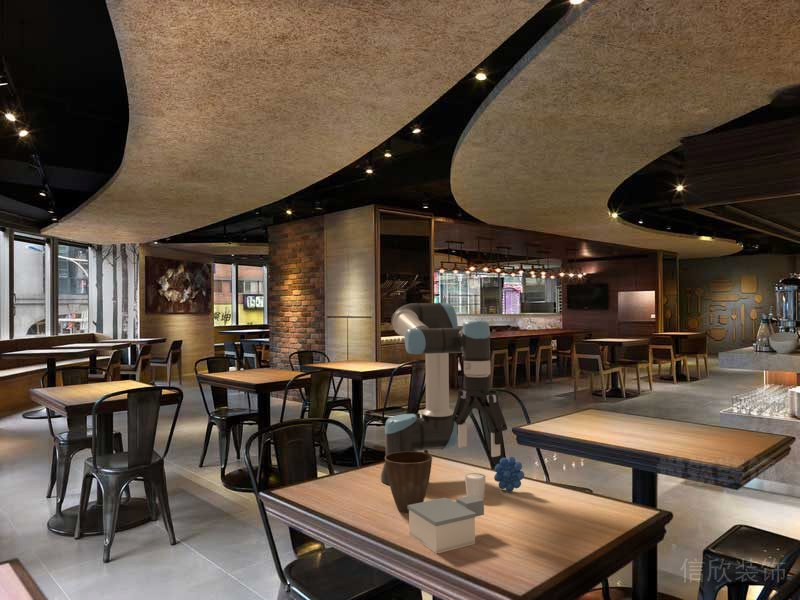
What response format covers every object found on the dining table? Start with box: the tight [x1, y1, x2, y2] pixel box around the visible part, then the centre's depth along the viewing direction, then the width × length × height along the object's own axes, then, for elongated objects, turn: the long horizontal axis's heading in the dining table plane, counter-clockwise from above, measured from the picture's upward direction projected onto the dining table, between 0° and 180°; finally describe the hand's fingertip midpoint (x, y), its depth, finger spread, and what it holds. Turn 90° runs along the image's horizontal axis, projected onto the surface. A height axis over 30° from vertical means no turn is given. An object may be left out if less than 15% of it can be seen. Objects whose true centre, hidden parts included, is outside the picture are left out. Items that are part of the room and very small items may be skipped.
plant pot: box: [384, 451, 433, 513], centre depth 171 cm, size 15×15×16 cm
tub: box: [408, 510, 476, 555], centre depth 147 cm, size 14×12×7 cm
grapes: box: [493, 456, 525, 493], centre depth 187 cm, size 12×7×12 cm, turn 47°
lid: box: [407, 495, 485, 526], centre depth 149 cm, size 15×19×4 cm
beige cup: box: [464, 472, 486, 500], centre depth 181 cm, size 7×7×7 cm
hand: (478, 451), depth 154 cm, fingers open, 13 cm apart
